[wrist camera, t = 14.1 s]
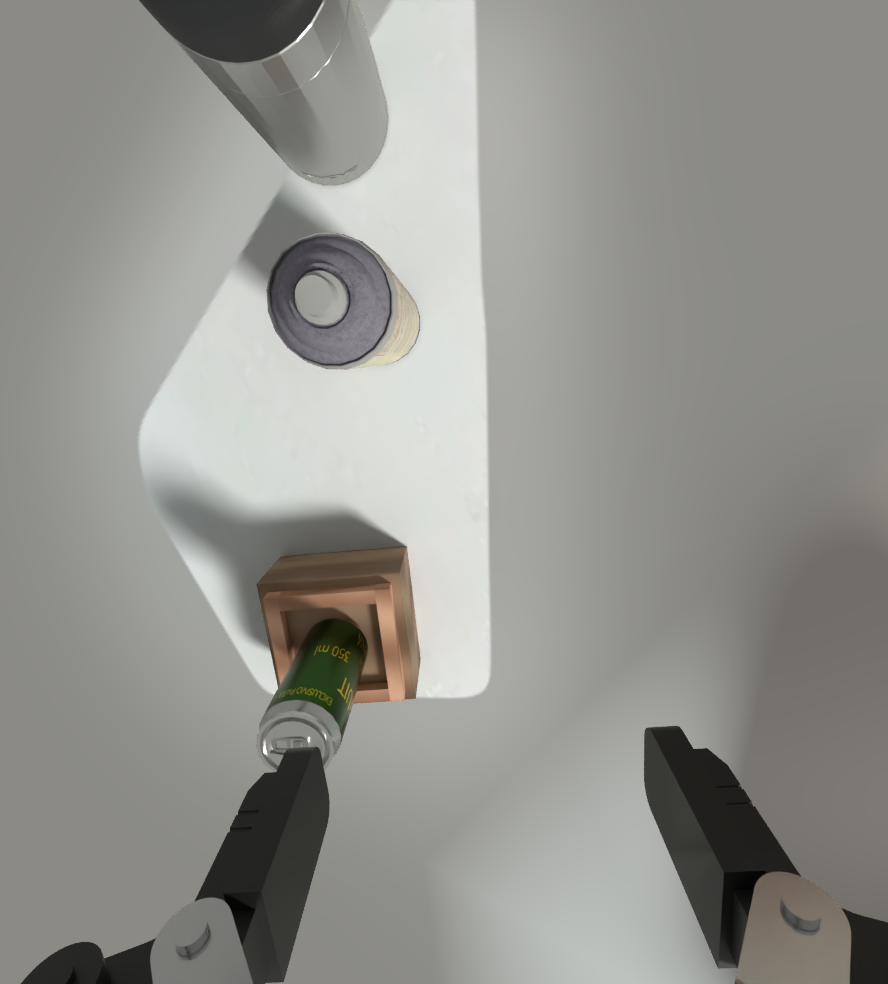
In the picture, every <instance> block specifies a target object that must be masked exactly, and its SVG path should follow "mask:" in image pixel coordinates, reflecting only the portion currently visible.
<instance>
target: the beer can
mask: <svg viewBox="0 0 888 984" xmlns="http://www.w3.org/2000/svg"><path fill="white" fill-rule="evenodd" d="M367 654H368V644H367V640H366V637H365V635H364V634H363V632H362V630H361V629H360V628H359V627H358V626H357V625H356V624H355V623H354V622H352V621H349V620H347V619H344V618H338V617H336V618H328V619H326V620H323V621H321V622H319V623H317V624H315V625H314V626H313V627H312V628H311V629H310V630H309V632H308V634H307V636H306V638H305V639H304V641H303V643H302V645H301V647H300V649H299V651H298V652H297V654H296V656H295V658H294V660H293V662H292V664H291V665H290V667H289V669H288V671H287V673H286V675H285V677H284V678H283V680H282V682H281V684H280V686H279V688H278V690H277V691H276V693H275V695H274V697H273V699H272V701H271V703H270V705H269V707H268V708H267V710H266V712H265V714H264V716H263V718H262V720H261V722H260V725H259V733H258V735H257V745H256V747H257V750H258V753H259V756H260V758H261V759H262V760H263V762H264V763H265V765H266V766H268V767H269V768H270V769H271V770H273V771H274V772H276V771H277V769H278V767H279V764H280V762H281V760H282V758H283V755H284V753H285V751H286V750H287V749H289V748H304V747H318V748H319V749H320V752H321V756H322V762H323V767H324V770H325V769H326V768H327V767H328V765H329V764H330V762H331V760H332V758H333V757H334V756H335V755H336V753H337V751H338V749H339V748H340V744H341V741H342V738H343V735H344V731H345V728H346V725H347V721H348V718H349V714H350V711H351V708H352V705H353V702H354V698H355V695H356V692H357V688H358V685H359V682H360V678H361V675H362V672H363V668H364V665H365V662H366V658H367Z"/></svg>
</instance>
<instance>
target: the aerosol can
mask: <svg viewBox="0 0 888 984" xmlns="http://www.w3.org/2000/svg"><path fill="white" fill-rule="evenodd" d="M267 303H268V312H269V315H270V318H271V321H272V323H273V326H274V329H275V331H276V333H277V334H278V335H279V337H280V338H281V339H282V341H283V342H284V344H285V345H286V346H287V348H289V349H290V350H291V351H293V352H294V353H295V354H297V355H298V356H299V357H300V358H302V359H303V360H305V361H307V362H308V363H311V364H314V365H317V366H320V367H322V368H325V369H354V368H361V367H369V366H377V365H385V364H389V363H392V362H395V361H398V360H400V359H401V358H402V357H404V356H405V355H406V354H408V353H409V351H410V350H411V349H412V347H413V346H414V344H415V343H416V340H417V337H418V334H419V331H420V315H419V312H418V309H417V305H416V303H415V301H414V300H413V298H412V297H411V295H410V294H409V292H408V291H407V290H406V288H405V287H404V286H403V285H402V283H401V282H400V281H399V280H398V278H397V277H396V276H395V275H394V273H393V272H392V271H391V269H390V268H389V267H388V266H387V264H386V263H385V262H384V261H383V259H382V258H381V257H380V256H379V255H378V254H377V253H376V252H375V251H373V250H372V249H371V248H370V247H368V246H367V245H366V244H365V243H363V242H362V241H359V240H357V239H354V238H351V237H349V236H346V235H343V234H339V233H315V234H312V235H309V236H306V237H303V238H300V239H298V240H297V241H295V242H294V243H293V244H292V245H290V246H289V247H288V248H287V249H285V250H284V251H283V252H282V253H281V255H280V257H279V258H278V260H277V262H276V263H275V265H274V266H273V268H272V270H271V274H270V278H269V282H268V287H267Z"/></svg>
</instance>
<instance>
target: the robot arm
mask: <svg viewBox="0 0 888 984" xmlns="http://www.w3.org/2000/svg"><path fill="white" fill-rule="evenodd" d="M139 1H140V2H141V3H142V4H143V6H144V7H145V8H146V9H147V10H148V11H149V12H150V13H151V14H152V16H153V17H154V18H155V19H156V20H157V21H158V22H159V23H160V24H161V25H162V27H163V28H164V29H165V30H166V31H167V32H168V33H169V34H170V36H171V37H172V38H173V39H174V40H175V41H176V42H177V43H178V44H179V46H180V47H181V48H182V49H183V50H184V51H185V52H186V53H187V54H188V55H189V57H190V58H191V59H192V60H193V61H194V62H195V63H196V64H197V65H198V66H199V67H200V68H201V70H202V71H203V72H204V73H205V74H206V75H207V76H208V77H209V79H210V80H211V81H212V82H213V83H214V84H215V85H216V86H217V87H218V89H219V90H220V91H221V92H222V93H223V94H224V95H225V96H226V97H227V99H228V100H229V101H230V102H231V103H232V104H233V105H234V106H235V108H236V109H237V110H238V111H239V112H240V113H241V114H242V115H243V116H244V118H246V120H247V121H248V122H249V123H250V124H251V125H252V126H253V127H254V128H255V130H256V131H257V132H258V133H259V134H260V135H261V136H262V137H263V138H264V140H265V141H266V142H267V143H268V144H269V145H270V146H271V148H272V149H273V150H274V151H275V152H276V153H277V154H278V155H279V156H280V157H281V159H282V160H283V161H284V162H285V163H286V164H287V165H288V166H289V168H290V169H292V170H293V171H294V172H295V173H297V174H298V175H299V176H301V177H303V178H305V179H307V180H309V181H311V182H313V183H317V184H321V185H340V184H344V183H348V182H350V181H352V180H354V179H356V178H358V177H360V176H361V175H362V174H363V173H365V172H366V171H367V170H368V169H369V168H370V167H371V166H372V164H373V163H374V162H375V160H376V159H377V158H378V156H379V154H380V152H381V149H382V147H383V145H384V142H385V138H386V134H387V126H388V111H387V103H386V98H385V95H384V91H383V88H382V84H381V80H380V77H379V73H378V69H377V65H376V62H375V58H374V54H373V51H372V47H371V44H370V40H369V37H368V33H367V30H366V27H365V22H364V19H363V15H362V12H361V8H360V5H359V1H358V0H139ZM644 738H645V739H644V745H645V746H644V782H645V789H646V795H647V799H648V803H649V806H650V808H651V811H652V814H653V816H654V818H655V821H656V823H657V825H658V828H659V830H660V833H661V835H662V837H663V839H664V842H665V844H666V847H667V849H668V851H669V854H670V856H671V858H672V861H673V863H674V865H675V868H676V870H677V873H678V875H679V877H680V880H681V882H682V884H683V886H684V889H685V891H686V894H687V896H688V898H689V901H690V903H691V906H692V908H693V910H694V912H695V915H696V917H697V920H698V922H699V924H700V927H701V929H702V931H703V934H704V936H705V938H706V941H707V943H708V946H709V948H710V950H711V953H712V955H713V957H714V960H715V962H716V965H717V967H718V968H737V969H738V970H737V974H736V979H735V984H888V923H887V922H884V921H880V920H876V919H872V918H868V917H864V916H861V915H857V914H855V913H852V912H849V911H847V910H845V909H842V908H841V907H840V906H839V905H838V904H837V902H836V901H835V900H834V899H833V898H832V897H831V896H830V895H829V894H828V893H827V892H826V891H824V890H823V889H822V888H821V887H819V886H818V885H816V884H815V883H813V882H811V881H809V880H807V879H805V878H803V877H801V875H800V874H799V873H798V871H797V870H796V868H795V867H794V865H793V864H792V862H791V861H790V859H789V858H788V856H787V855H786V853H785V852H784V850H783V849H782V847H781V846H780V844H779V843H778V841H777V840H776V838H775V837H774V835H773V834H772V832H771V831H770V829H769V827H768V826H767V824H766V823H765V821H764V820H763V818H762V817H761V815H760V814H759V812H758V811H757V809H756V808H755V806H754V807H753V805H752V802H751V800H750V799H749V797H748V796H747V794H746V792H745V791H744V790H743V789H742V788H741V785H740V783H739V782H738V780H737V779H736V777H735V776H734V774H733V773H732V771H731V770H730V768H729V767H728V765H727V764H726V763H724V762H723V761H722V760H721V759H719V758H718V757H717V756H716V755H715V754H713V753H712V752H711V751H710V750H708V749H707V748H705V749H693V747H692V746H691V744H690V742H689V741H688V739H687V737H686V736H685V734H684V732H683V731H682V729H681V728H680V727H678V726H668V727H652V728H646V730H645V737H644ZM328 817H329V793H328V788H327V783H326V778H325V773H324V767H323V762H322V756H321V752H320V749H319V748H318V747H304V748H289V749H287V750H286V751H285V753H284V755H283V758H282V760H281V762H280V764H279V767H278V769H277V771H276V772H273V773H264V774H263V775H262V776H261V778H260V779H259V780H258V781H257V782H256V783H255V784H254V785H253V786H252V787H251V788H250V789H249V790H248V792H247V794H246V796H245V798H244V800H243V802H242V805H241V807H240V809H239V811H238V815H236V817H235V819H234V821H233V823H232V825H231V827H230V832H229V833H227V836H226V838H225V840H224V842H223V844H222V846H221V848H220V850H219V852H218V854H217V856H216V858H215V860H214V862H213V865H212V867H211V869H210V871H209V873H208V875H207V877H206V879H205V882H204V883H203V885H202V887H201V890H200V891H199V894H198V896H197V898H196V899H195V901H194V902H192V903H190V904H188V905H187V906H185V907H184V908H182V909H181V910H180V911H178V912H177V913H176V914H175V915H173V916H172V917H171V918H170V919H169V920H168V922H167V923H166V924H165V925H164V927H163V928H162V929H161V931H160V932H159V934H158V935H157V937H156V938H155V939H153V940H151V941H149V942H147V943H144V944H142V945H139V946H136V947H134V948H131V949H128V950H126V951H123V952H121V953H118V954H115V955H113V956H110V957H107V958H105V959H104V957H103V954H102V952H101V949H100V948H99V947H98V946H97V945H96V944H94V943H90V942H80V943H75V944H72V945H69V946H67V947H65V948H63V949H60V950H59V951H57V952H55V953H54V954H52V955H51V956H49V957H48V958H47V959H45V960H44V961H43V962H41V963H40V964H39V965H38V966H37V967H36V968H35V969H34V970H33V971H32V972H31V973H30V974H29V975H28V976H27V977H26V978H25V979H24V981H23V982H22V983H21V984H265V983H271V982H284V978H285V975H286V971H287V968H288V964H289V961H290V957H291V953H292V950H293V946H294V943H295V939H296V935H297V932H298V928H299V925H300V921H301V917H302V914H303V910H304V907H305V902H306V899H307V896H308V892H309V889H310V885H311V882H312V878H313V874H314V871H315V867H316V864H317V860H318V856H319V853H320V849H321V846H322V842H323V838H324V835H325V831H326V828H327V824H328Z"/></svg>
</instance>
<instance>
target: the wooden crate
mask: <svg viewBox="0 0 888 984" xmlns="http://www.w3.org/2000/svg"><path fill="white" fill-rule="evenodd" d="M257 588H258V592H259V597H260V602H261V607H262V612H263V616H264V621H265V626H266V631H267V636H268V641H269V645H270V650H271V655H272V660H273V665H274V670H275V674H276V679H277V684H278V688H279V686H280V684H281V682H282V680H283V678H284V677H285V675H286V673H287V671H288V669H289V667H290V665H291V664H292V662H293V660H294V658H295V656H296V654H297V652H298V651H299V649H300V647H301V645H302V643H303V641H304V639H305V638H306V636H307V634H308V632H309V630H310V629H311V628H312V627H313V626H314V625H315V624H317V623H319V622H321V621H323V620H326V619H328V618H336V617H338V618H344V619H347V620H349V621H352V622H354V623H355V624H356V625H357V626H358V627H359V628H360V629H361V630H362V632H363V634H364V635H365V637H366V640H367V644H368V654H367V658H366V662H365V665H364V668H363V672H362V675H361V678H360V682H359V685H358V688H357V692H356V695H355V698H354V702H353V703H370V702H385V701H400V700H404V699H415V698H416V691H417V683H418V675H419V667H420V651H419V643H418V635H417V627H416V619H415V610H414V602H413V594H412V586H411V578H410V569H409V561H408V553H407V547H395V548H383V549H370V550H358V551H345V552H333V553H320V554H308V555H295V556H283V557H280V558H279V560H278V561H277V562H276V563H275V564H274V565H273V566H272V568H271V569H270V570H269V571H268V572H267V573H266V574H265V575H264V577H263V578H262V579H261V580H260V581H259V582H258V583H257Z"/></svg>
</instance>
